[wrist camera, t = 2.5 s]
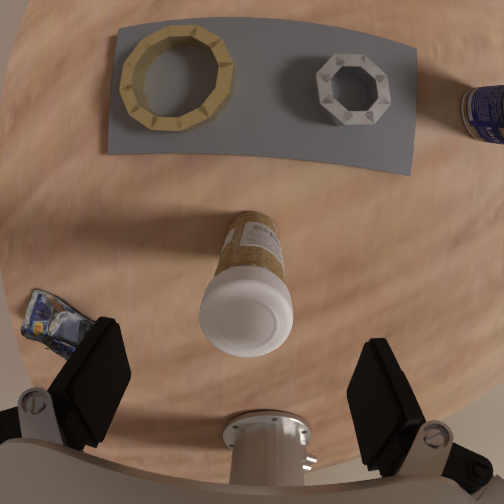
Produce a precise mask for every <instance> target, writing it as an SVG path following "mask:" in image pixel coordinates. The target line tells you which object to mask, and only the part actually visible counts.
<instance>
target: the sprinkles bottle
mask: <svg viewBox="0 0 504 504" xmlns="http://www.w3.org/2000/svg"><path fill="white" fill-rule="evenodd" d="M199 321H200V326H201V329H202V331H203V333H204V335H205V336H206V338H207V339H208V340H209V341H210V342H211V343H212V344H213V345H214V346H215V347H217V348H218V349H220V350H221V351H223V352H225V353H228V354H231V355H234V356H239V357H256V356H261V355H264V354H267V353H269V352H271V351H273V350H275V349H276V348H278V347H279V346H280V345H281V344H282V343H283V342H284V341H285V340H286V339H287V337H288V336H289V333H290V331H291V328H292V324H293V312H292V303H291V298H290V294H289V291H288V289H287V287H286V285H285V272H284V266H283V259H282V253H281V248H280V243H279V232H278V229H277V226H276V225H275V223H274V222H273V221H272V220H271V219H270V218H269V217H268V216H266V215H264V214H262V213H259V212H248V213H243V214H241V215H239V216H238V217H237V218H235V219H234V220H233V222H232V223H231V225H230V226H229V229H228V233H227V237H226V239H225V242H224V245H223V248H222V251H221V254H220V260H219V263H218V266H217V269H216V272H215V276H214V278H213V279H212V280H211V282H210V283H209V285H208V286H207V288H206V291H205V293H204V296H203V299H202V303H201V307H200V312H199Z"/></svg>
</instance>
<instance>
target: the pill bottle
mask: <svg viewBox="0 0 504 504" xmlns="http://www.w3.org/2000/svg"><path fill="white" fill-rule="evenodd" d="M461 112H462V117H463V121H464V124H465V126H466V128H467V130H468V131H469V133H470V134H471V135H472V136H473V137H474V138H475V139H477V140H479V141H482V142H489V143H497V144H504V85H498V86H487V87H477V88H472V89H470V90H468V91H467V92H466V93H465V95H464V96H463V99H462V104H461Z"/></svg>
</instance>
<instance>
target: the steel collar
mask: <svg viewBox="0 0 504 504" xmlns="http://www.w3.org/2000/svg"><path fill="white" fill-rule="evenodd" d="M335 73H352V74H353V75H354V76H355V77H356V78H358V79H359V80H360V81H361V82H362V83H363V84H364V85H365V88H366V95H367V103H366V104H365V105H364V106H363V108H362V109H361V110H360V111H348V110H347V109H346V108H345V107H343V106H342V105H341V104H340V103H339V102H338V101H336V100H335V99H334V98H333V92H332V85H331V78H332V77H333V76H334V75H335ZM311 87H312V94H313V101H314V108H315V109H317V110H318V111H319V112H320V113H321V114H323V115H324V116H325V117H326V118H327V119H329V120H330V121H331V122H332V123H333V124H334V125H336V126H366V125H374V124H375V123H376V122H377V121H378V119H379V118H380V117H381V116H382V115H383V113H384V112H385V111H386V110H387V108H388V107H389V106H390V105H391V98H390V91H389V85H388V78H387V75H386V74H385V73H384V72H383V71H382V70H381V69H380V68H379V67H377V66H376V65H375V64H374V63H373V62H372V61H371V60H370V59H368V58H367V57H366V56H365V55H361V54H334V55H333V56H332V57H331V58H330V59H329V60H328V61H327V62H326V63H325V65H324V66H323V67H322V68H321V69H320V70H319V71H318V72H317V73H316V74H315V76H314V77H313V78H312V79H311Z"/></svg>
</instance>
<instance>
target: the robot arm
mask: <svg viewBox="0 0 504 504" xmlns="http://www.w3.org/2000/svg"><path fill="white" fill-rule="evenodd" d="M130 379H131V370H130V366H129V363H128V359H127V355H126V351H125V347H124V343H123V338H122V334H121V330H120V326H119V324H118V323H116V321H115V319H113V318H107V317H102V316H101V317H99V318H98V319H97V321H96V322H95V323H94V325H93V326H92V327H91V329H90V330H89V331H88V333H87V334H86V336H85V337H84V338H83V340H82V341H81V342H80V344H79V345H78V346H77V348H76V349H75V351H74V352H73V353H72V355H71V356H70V358H69V359H68V361H67V362H66V363H65V365H64V366H63V368H62V369H61V371H60V372H59V374H58V375H57V377H56V378H55V379H54V381H53V382H52V384H51V385H50V387H49V389H48V390H47V391H46V390H44V389H42V388H38V387H36V388H31V389H28V390H26V391H25V392H23V393H22V395H21V396H20V398H19V400H18V406H17V407H14V408H10V409H7V410H3V411H0V504H504V480H503V479H502V478H501V477H500V476H498V475H496V476H494V475H493V467H492V464H491V462H490V461H489V460H488V459H487V458H485V457H484V456H481V455H479V454H477V453H475V452H473V451H470V450H468V449H466V448H464V447H462V446H460V445H458V444H456V443H454V442H453V433H452V431H451V429H450V428H449V427H448V426H447V425H446V424H444V423H443V422H440V421H437V420H431V421H428V422H426V420H425V418H424V415H423V413H422V411H421V409H420V406H419V404H418V402H417V400H416V397H415V395H414V393H413V391H412V389H411V386H410V384H409V382H408V380H407V378H406V376H405V374H404V372H403V371H402V370H401V368H400V366H399V364H398V362H397V360H396V358H395V356H394V354H393V352H392V350H391V348H390V346H389V344H388V342H387V340H386V339H385V338H371V339H370V340H369V342H366V343H365V344H364V347H363V349H362V352H361V355H360V358H359V360H358V363H357V366H356V368H355V371H354V373H353V376H352V378H351V381H350V383H349V386H348V388H347V399H348V403H349V407H350V411H351V415H352V419H353V423H354V428H355V432H356V436H357V440H358V445H359V449H360V453H361V458H362V462H363V464H364V465H367V468H368V471H373V470H379V471H380V475H381V476H380V478H377V479H371V480H364V481H356V482H348V483H338V484H327V485H314V486H304V474H303V472H308V471H310V469H311V466H312V465H311V463H312V464H313V463H315V462H316V460H317V457H316V456H314V455H311V454H307V453H306V445H307V444H308V443H309V441H310V439H311V429H310V426H309V424H308V423H307V422H306V421H305V420H303V419H302V418H300V417H298V416H296V415H293V414H290V413H286V412H280V411H257V412H250V413H247V414H243V415H240V416H238V417H235V418H234V419H232V420H231V421H229V422H228V423H227V424H226V426H225V428H224V431H223V440H224V442H225V444H226V445H227V446H228V447H229V448H230V449H231V450H233V451H232V461H231V471H230V481H229V484H221V483H212V482H204V481H197V480H190V479H184V478H178V477H173V476H167V475H162V474H158V473H153V472H149V471H144V470H140V469H136V468H133V467H129V466H125V465H122V464H118V463H115V462H112V461H108V460H105V459H102V458H99V457H95V456H92V455H89V454H87V453H84V451H83V449H84V447H85V445H88V446H91V447H94V448H97V446H98V443H99V442H100V443H101V442H103V440H104V438H105V435H106V433H107V431H108V428H109V426H110V424H111V421H112V419H113V417H114V415H115V412H116V410H117V408H118V406H119V403H120V401H121V399H122V397H123V394H124V392H125V390H126V388H127V386H128V383H129V381H130Z"/></svg>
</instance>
